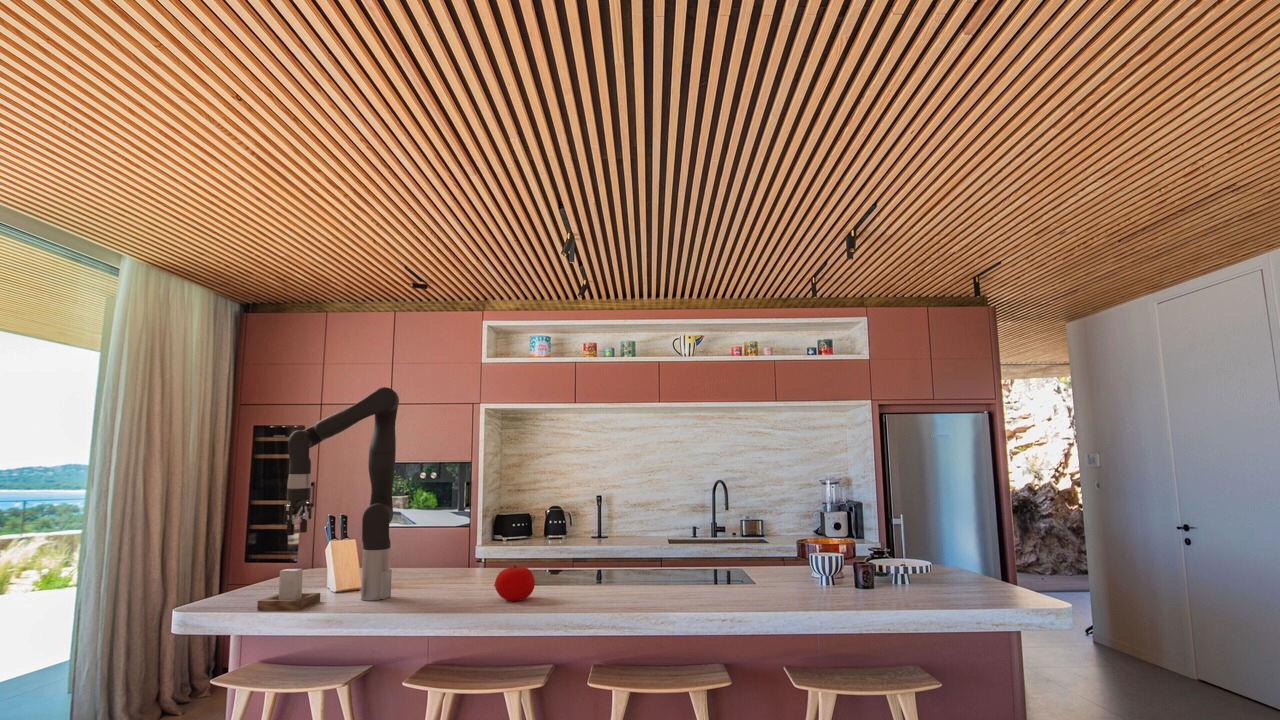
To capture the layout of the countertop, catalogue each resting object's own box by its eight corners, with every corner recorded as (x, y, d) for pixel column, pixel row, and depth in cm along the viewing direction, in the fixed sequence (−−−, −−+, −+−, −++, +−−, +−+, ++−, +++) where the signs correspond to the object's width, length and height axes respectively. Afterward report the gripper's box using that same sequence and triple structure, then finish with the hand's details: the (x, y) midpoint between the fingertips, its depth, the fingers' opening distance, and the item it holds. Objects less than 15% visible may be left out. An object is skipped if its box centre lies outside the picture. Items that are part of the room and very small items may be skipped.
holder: (320, 601, 245) (320, 592, 246) (297, 610, 231) (298, 601, 232) (281, 601, 246) (282, 592, 247) (257, 610, 232) (257, 600, 233)
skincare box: (301, 604, 241) (303, 568, 242) (294, 607, 237) (296, 570, 238) (284, 604, 241) (286, 568, 243) (277, 607, 237) (279, 570, 239)
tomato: (529, 603, 238) (529, 568, 240) (490, 603, 240) (490, 568, 241) (539, 596, 251) (539, 562, 252) (501, 595, 253) (502, 562, 254)
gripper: (298, 487, 242) (296, 536, 240) (319, 486, 256) (317, 531, 254) (277, 488, 242) (275, 536, 240) (299, 486, 256) (297, 531, 254)
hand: (296, 533), depth 247 cm, fingers open, 8 cm apart
